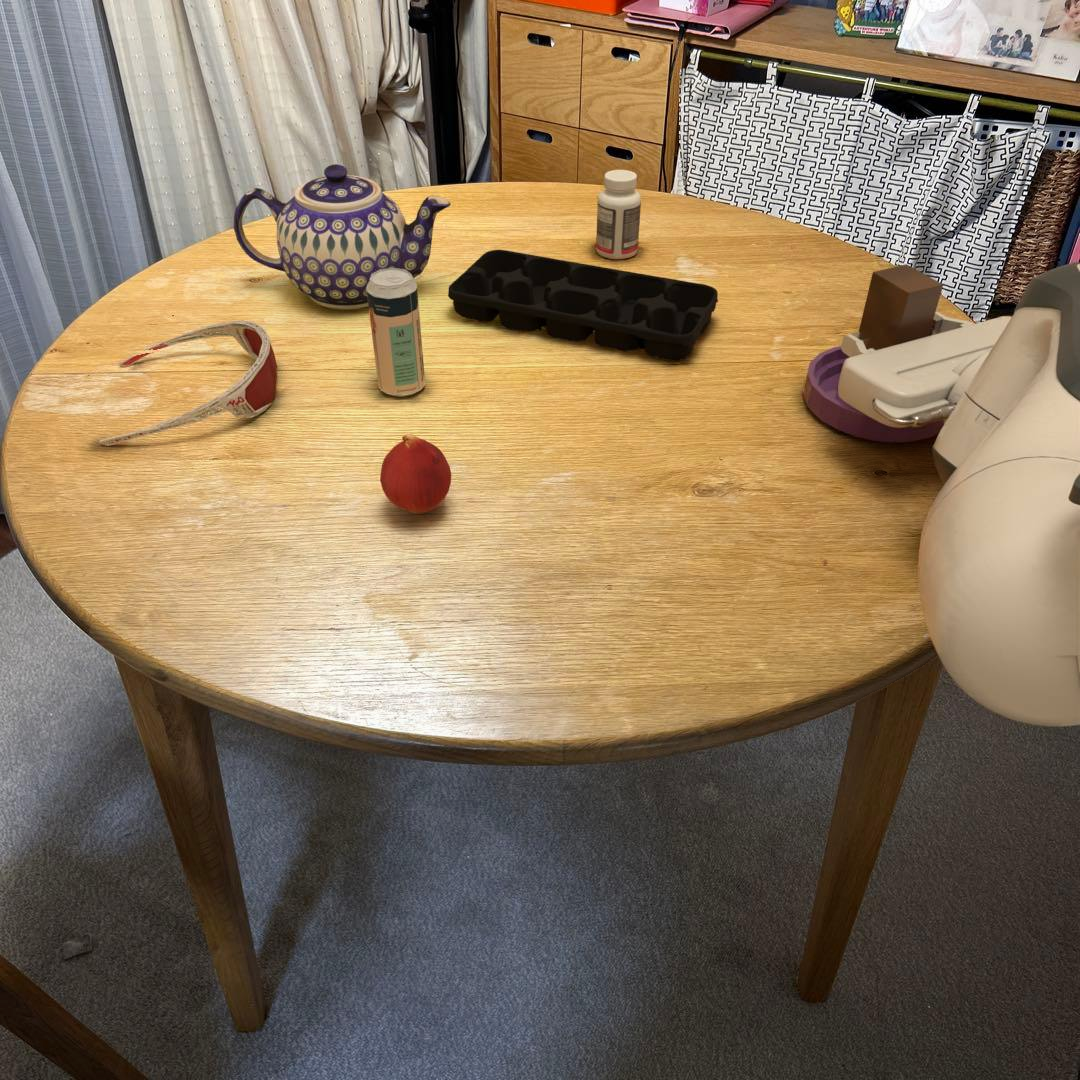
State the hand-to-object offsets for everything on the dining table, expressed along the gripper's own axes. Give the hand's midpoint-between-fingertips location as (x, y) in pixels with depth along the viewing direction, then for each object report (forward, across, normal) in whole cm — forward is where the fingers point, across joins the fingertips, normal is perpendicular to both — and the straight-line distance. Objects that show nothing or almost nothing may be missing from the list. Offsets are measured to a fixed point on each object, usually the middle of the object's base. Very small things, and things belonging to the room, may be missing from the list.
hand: (887, 329), depth 91 cm
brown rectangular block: (-1, 0, -7) cm, 7 cm away
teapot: (+46, -40, -8) cm, 61 cm away
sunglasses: (+30, -61, -8) cm, 68 cm away
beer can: (+22, -41, -8) cm, 48 cm away
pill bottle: (+42, -6, -8) cm, 43 cm away
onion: (+3, -47, -8) cm, 47 cm away
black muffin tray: (+28, -18, -8) cm, 34 cm away
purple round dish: (-1, 0, -8) cm, 8 cm away
